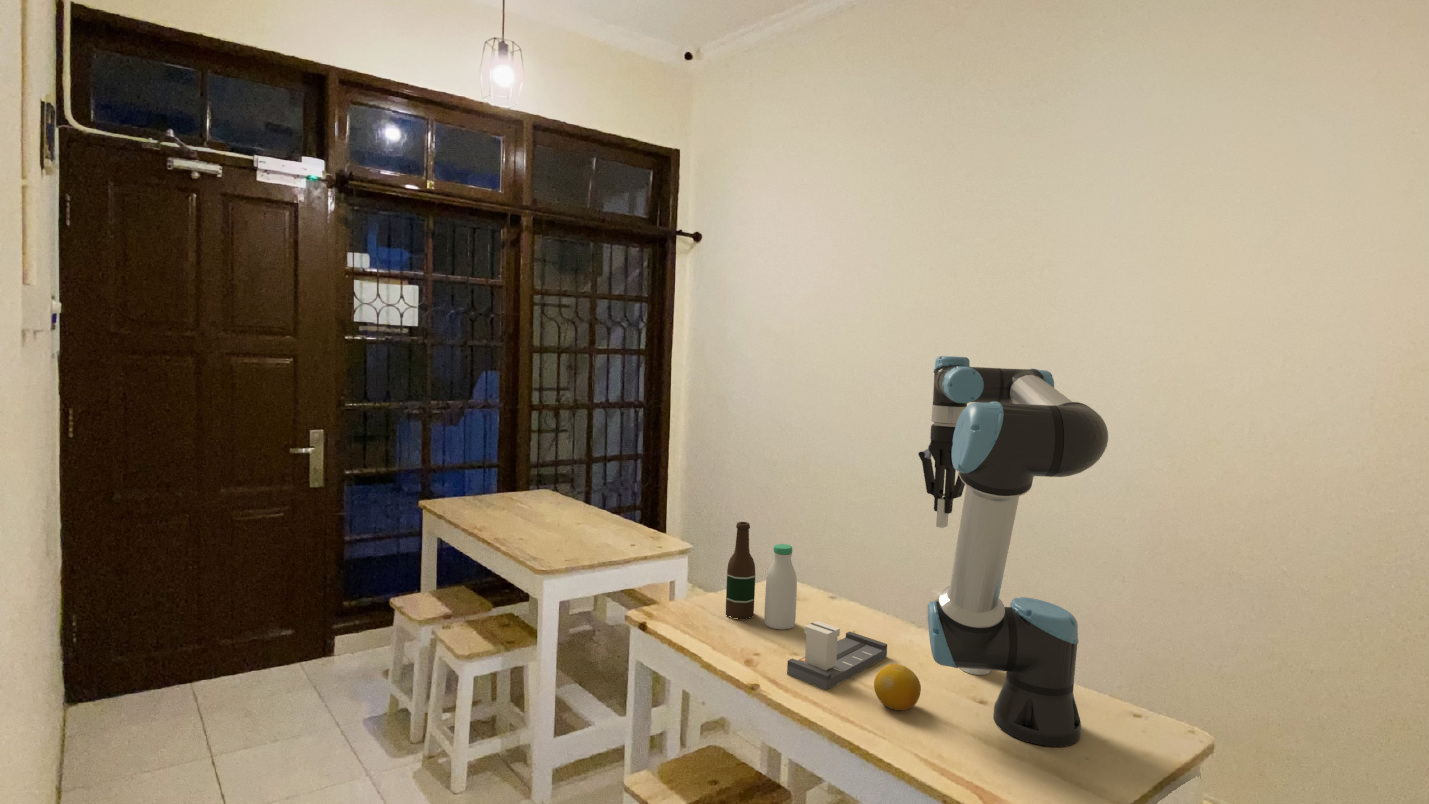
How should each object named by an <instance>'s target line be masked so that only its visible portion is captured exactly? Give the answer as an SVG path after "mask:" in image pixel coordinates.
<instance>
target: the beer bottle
mask: <svg viewBox="0 0 1429 804" xmlns="http://www.w3.org/2000/svg"><path fill="white" fill-rule="evenodd" d="M735 526H736V527H735V528H736V536H735V537H736V539H735V547H734V552H733V554H732V555H731V557H730V558H729V560H728V563H727V569H726V592H725V593H726V594H725V616H726V615H727V616H726V617H728V616H731V617H732V618H738V619H737V620H740V619H746V618H749V617H752V616H753V617H754V612H755V596H756V595H755V593H756V591H755V590H756V564H755V563H756V562H755V560H754V558H753V556H752V555H751V552H750V529H751V525H750V522H747V521H738V522H736V525H735ZM753 617H752V618H753ZM732 618H731V619H732ZM749 619H750V618H749ZM746 620H747V619H746Z"/></svg>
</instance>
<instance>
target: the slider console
mask: <svg viewBox="0 0 1429 804" xmlns="http://www.w3.org/2000/svg"><path fill="white" fill-rule="evenodd" d="M887 654H888V643H886V642H882V641H880V640H877V639H873V638H870V637H867V636H866V635H865V636H864V635H861V634H859V633H855V632H852V631H850V630H849V631H847V632H845V637H843V638H842V639H838V640H837V658H836V665H835V666H833V667H831V668H830V669H828V670H826V671H825V670H822V669H820V668H817V667H815V666H812V665H809V664H807V663H805V656H804V657H801V658H800V659H795V658H790V659H787V664H786V667H787V669H786V674H787V675H788V676H790V677H793V678H796V679H798V680H800V681H802V682H805V683H808V684H810V685H813V686H815V687H817V688H820V689H822V690H825V691H827V690H829V689H831V688H833V687H835V686H836V685H838V684H840V683H842V682H844V681H845V680H847V679H849V678H851V677H853V676H854V675H856V674H858V673H861V672H862V671H864V670H865V669H867V668H869V667H871V666H873V665H875V664H877V663H878V662H880V661H882V660H883V659H885V658H887V656H888V655H887ZM876 662H877V663H876Z"/></svg>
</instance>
